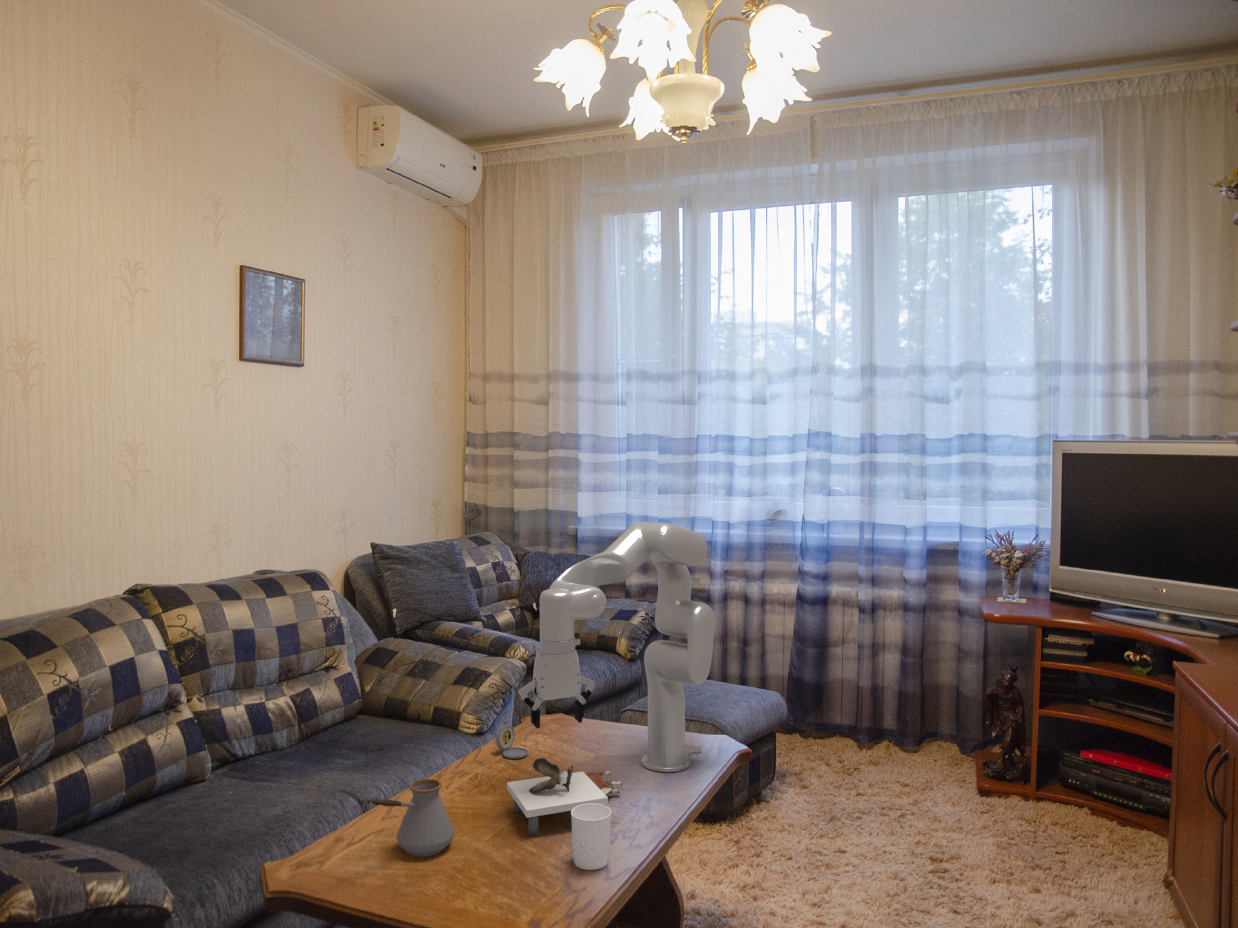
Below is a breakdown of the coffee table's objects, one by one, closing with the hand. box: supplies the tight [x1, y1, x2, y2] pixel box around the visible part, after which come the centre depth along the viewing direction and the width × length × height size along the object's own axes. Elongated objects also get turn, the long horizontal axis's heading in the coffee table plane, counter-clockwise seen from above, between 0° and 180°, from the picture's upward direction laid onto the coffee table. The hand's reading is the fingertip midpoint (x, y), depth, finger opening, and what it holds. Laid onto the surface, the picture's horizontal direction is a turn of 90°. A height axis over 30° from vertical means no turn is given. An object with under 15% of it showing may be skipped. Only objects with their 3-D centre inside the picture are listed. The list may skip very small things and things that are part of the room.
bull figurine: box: [585, 770, 623, 797], centre depth 200 cm, size 4×13×8 cm
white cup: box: [570, 803, 612, 871], centre depth 167 cm, size 8×8×10 cm
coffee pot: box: [362, 778, 455, 857], centre depth 169 cm, size 21×12×15 cm, turn 148°
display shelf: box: [506, 771, 609, 837], centre depth 188 cm, size 18×16×6 cm
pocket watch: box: [495, 714, 529, 760], centre depth 226 cm, size 8×8×10 cm
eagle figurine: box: [529, 757, 574, 794], centre depth 187 cm, size 8×7×9 cm
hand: (557, 723), depth 188 cm, fingers open, 9 cm apart
